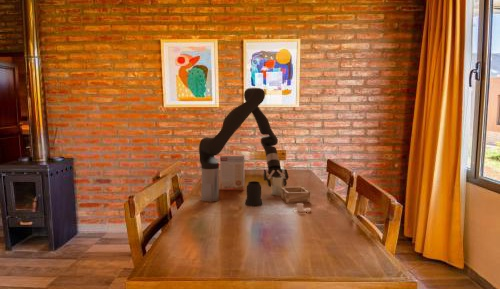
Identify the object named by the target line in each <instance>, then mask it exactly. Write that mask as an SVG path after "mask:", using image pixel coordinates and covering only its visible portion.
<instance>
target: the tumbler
mask: <svg viewBox="0 0 500 289" xmlns="http://www.w3.org/2000/svg"><path fill="white" fill-rule="evenodd" d="M271 179H272V180H271V181H272V182H271V187H272V189H271V190H272V191H271V195H273V196H281V187H283V180H282V177H281V175H280V176H273V177H272V178H271Z"/></svg>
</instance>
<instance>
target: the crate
mask: <svg viewBox="0 0 500 289" xmlns="http://www.w3.org/2000/svg"><path fill="white" fill-rule="evenodd" d="M280 198H281V199H282V200H283V201H284V202H285V203H286V204H297V203H303V204H305V203H306V204H307V202H310V201H311V191H309V190H308V189H306V188H305V187H304V186H282V187H281V195H280Z"/></svg>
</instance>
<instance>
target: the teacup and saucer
mask: <svg viewBox="0 0 500 289" xmlns="http://www.w3.org/2000/svg"><path fill="white" fill-rule="evenodd" d="M295 205H296V206H295ZM296 211H297V212H296ZM311 211H312V208H310V207H306V208H305V207H304V203H294V208H293V209H291V212H292V214H293V213H294V214H297V215H304V214H305V215H306V214H308V213H311ZM295 212H296V213H295ZM306 212H307V213H306Z"/></svg>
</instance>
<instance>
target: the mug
mask: <svg viewBox="0 0 500 289" xmlns="http://www.w3.org/2000/svg"><path fill="white" fill-rule="evenodd" d="M260 183H261V182H259V181H257V180H256V181H253V180H251V181H248V183H247V186H246V198H245V203H244V204H245V205H246V206H248V207H252V208H253V207H261V206H263V200H262V185H261V184H260Z"/></svg>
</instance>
